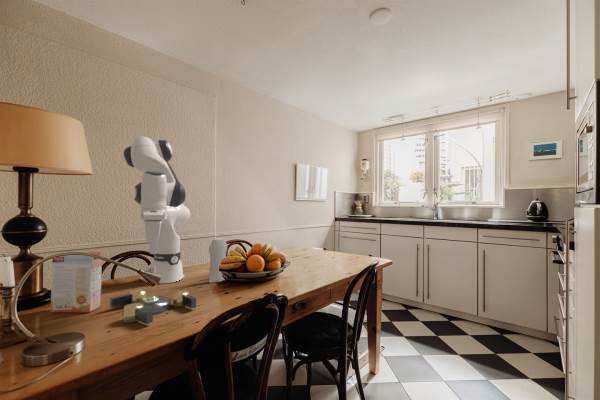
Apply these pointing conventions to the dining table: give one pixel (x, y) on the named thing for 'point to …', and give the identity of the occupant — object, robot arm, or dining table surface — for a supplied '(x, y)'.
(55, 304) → the cracker box
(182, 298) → the knob left
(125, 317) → the knob front
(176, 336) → the dining table surface
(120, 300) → the knob back
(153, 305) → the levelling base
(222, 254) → the tall pale column
